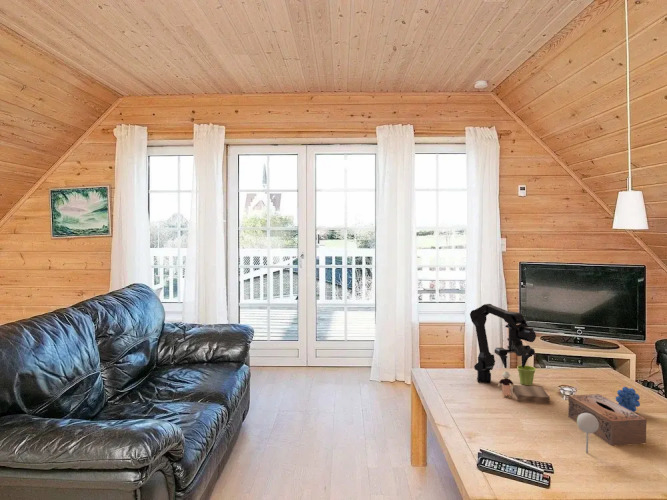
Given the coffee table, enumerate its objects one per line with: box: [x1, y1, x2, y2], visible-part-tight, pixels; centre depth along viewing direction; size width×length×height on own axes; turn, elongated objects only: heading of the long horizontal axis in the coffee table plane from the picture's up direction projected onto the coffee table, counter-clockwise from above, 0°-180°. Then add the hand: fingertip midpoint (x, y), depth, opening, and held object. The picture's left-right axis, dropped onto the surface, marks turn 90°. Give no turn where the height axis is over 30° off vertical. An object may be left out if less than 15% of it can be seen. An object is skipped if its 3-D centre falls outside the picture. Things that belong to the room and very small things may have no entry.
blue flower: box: [615, 386, 641, 413], centre depth 194 cm, size 12×7×12 cm, turn 96°
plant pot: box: [516, 364, 537, 386], centre depth 232 cm, size 9×9×9 cm
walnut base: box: [512, 384, 551, 404], centre depth 214 cm, size 14×14×3 cm
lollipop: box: [576, 413, 599, 454], centre depth 160 cm, size 7×7×15 cm
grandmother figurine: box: [497, 371, 515, 399], centre depth 214 cm, size 8×4×13 cm, turn 92°
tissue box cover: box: [568, 393, 647, 447], centre depth 179 cm, size 26×14×10 cm, turn 6°
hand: (514, 367), depth 217 cm, fingers open, 9 cm apart
